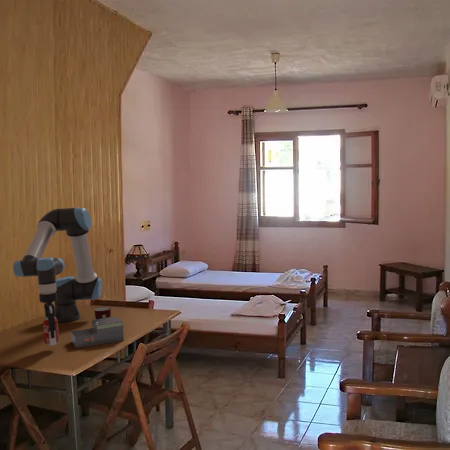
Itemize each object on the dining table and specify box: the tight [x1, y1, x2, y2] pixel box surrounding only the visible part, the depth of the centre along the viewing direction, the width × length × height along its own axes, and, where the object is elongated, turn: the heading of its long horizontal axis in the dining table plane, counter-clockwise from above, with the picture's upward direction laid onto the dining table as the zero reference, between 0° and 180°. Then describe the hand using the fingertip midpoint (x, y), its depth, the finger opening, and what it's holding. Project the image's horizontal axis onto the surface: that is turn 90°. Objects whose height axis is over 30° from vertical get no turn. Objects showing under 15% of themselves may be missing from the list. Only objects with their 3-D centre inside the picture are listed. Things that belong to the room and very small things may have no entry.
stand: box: [70, 315, 125, 349], centre depth 260 cm, size 13×22×12 cm, turn 115°
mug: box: [94, 306, 112, 319], centre depth 282 cm, size 11×8×10 cm
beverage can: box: [42, 316, 60, 346], centre depth 249 cm, size 6×6×12 cm
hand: (52, 342), depth 250 cm, fingers closed on beverage can, 6 cm apart
